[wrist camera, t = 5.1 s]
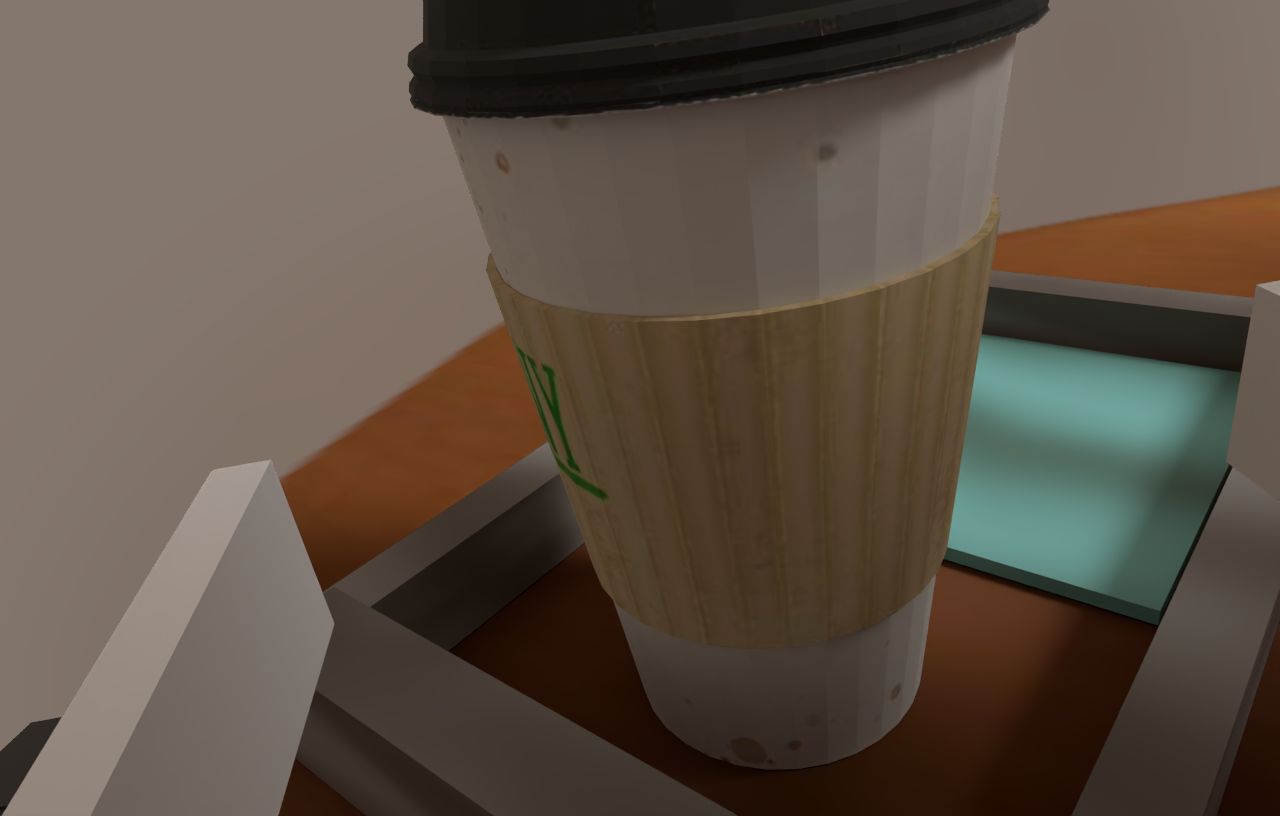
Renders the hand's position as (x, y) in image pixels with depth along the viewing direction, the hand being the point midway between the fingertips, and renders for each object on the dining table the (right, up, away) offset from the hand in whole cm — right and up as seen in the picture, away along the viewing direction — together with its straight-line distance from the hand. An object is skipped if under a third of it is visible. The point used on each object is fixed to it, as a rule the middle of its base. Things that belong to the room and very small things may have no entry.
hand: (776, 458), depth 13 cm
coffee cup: (+1, -5, +8) cm, 10 cm away
